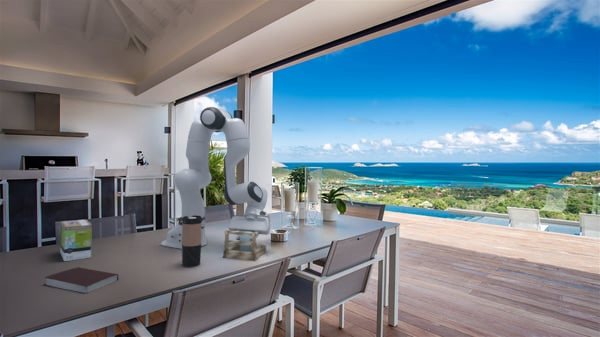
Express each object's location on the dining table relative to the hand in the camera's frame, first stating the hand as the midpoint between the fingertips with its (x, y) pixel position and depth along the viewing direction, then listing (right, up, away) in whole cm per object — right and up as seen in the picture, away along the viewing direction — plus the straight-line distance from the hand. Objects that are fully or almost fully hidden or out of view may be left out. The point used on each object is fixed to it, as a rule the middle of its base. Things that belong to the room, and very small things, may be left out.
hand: (245, 240), depth 152 cm
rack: (0, -7, +1) cm, 7 cm away
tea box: (-74, -5, -8) cm, 74 cm away
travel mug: (-20, -7, -15) cm, 26 cm away
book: (-51, -7, -37) cm, 63 cm away
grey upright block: (0, -6, +1) cm, 6 cm away
